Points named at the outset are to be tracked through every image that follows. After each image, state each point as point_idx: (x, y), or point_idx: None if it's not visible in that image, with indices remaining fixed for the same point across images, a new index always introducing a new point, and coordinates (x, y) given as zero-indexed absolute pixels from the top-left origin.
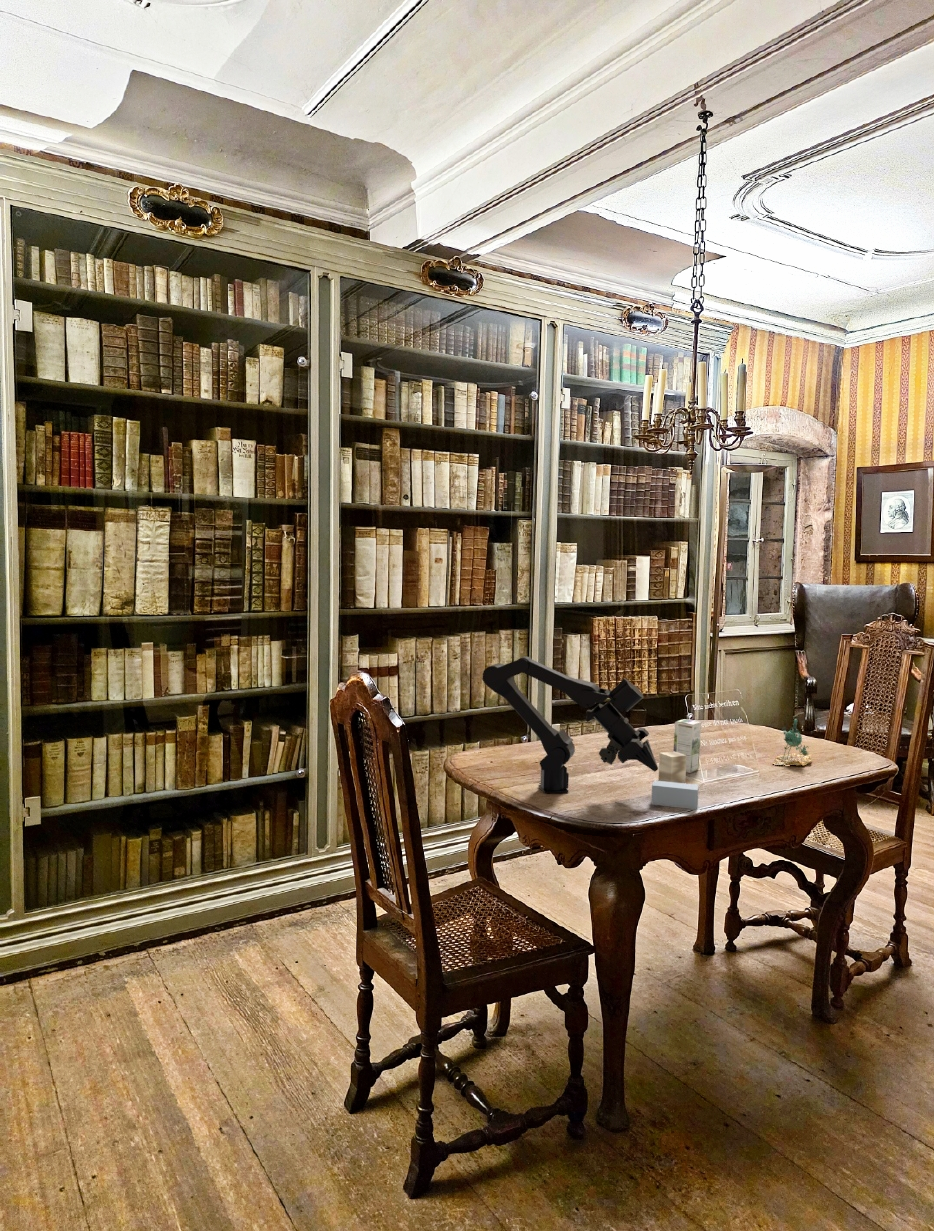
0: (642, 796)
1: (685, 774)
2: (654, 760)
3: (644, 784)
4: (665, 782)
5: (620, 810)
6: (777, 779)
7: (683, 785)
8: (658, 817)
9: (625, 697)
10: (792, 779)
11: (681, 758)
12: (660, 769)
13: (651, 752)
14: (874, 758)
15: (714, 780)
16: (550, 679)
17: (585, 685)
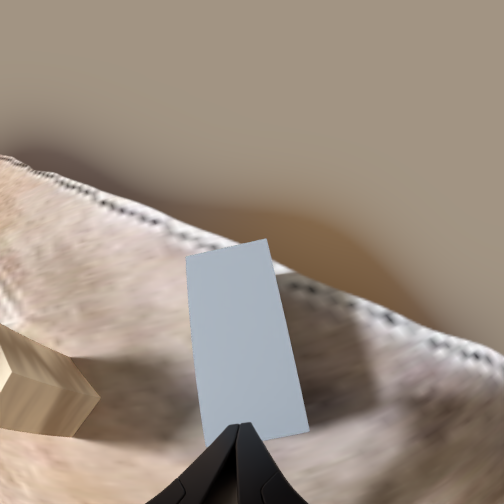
0: None
1: (40, 344)
2: (229, 454)
3: (81, 478)
4: (215, 390)
5: (439, 469)
6: (9, 210)
7: (224, 304)
8: (435, 342)
9: None
10: (11, 195)
11: (3, 337)
12: (35, 427)
13: (202, 496)
14: None
15: (9, 299)
16: None
17: None
